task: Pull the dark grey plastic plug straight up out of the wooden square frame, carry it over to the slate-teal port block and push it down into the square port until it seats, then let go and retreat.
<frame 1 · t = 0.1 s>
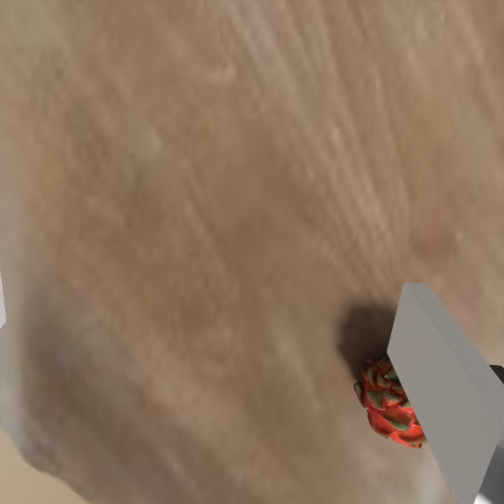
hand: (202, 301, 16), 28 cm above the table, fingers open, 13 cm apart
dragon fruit: (396, 377, 51), on the table
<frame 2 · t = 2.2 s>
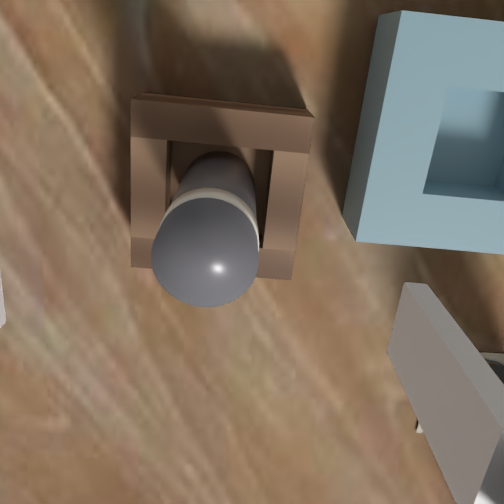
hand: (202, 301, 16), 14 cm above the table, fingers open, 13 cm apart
wooden square frame: (220, 180, 28), on the table
plug: (219, 186, 27), point 1 cm above the table, touching wooden square frame
port: (454, 133, 27), on the table
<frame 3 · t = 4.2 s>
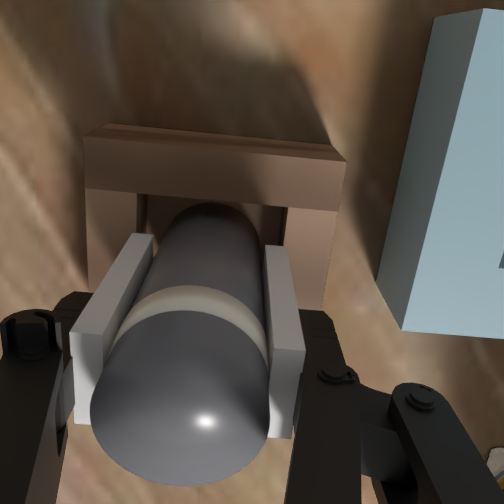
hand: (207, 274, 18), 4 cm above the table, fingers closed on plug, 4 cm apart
wooden square frame: (213, 238, 21), on the table
plug: (212, 248, 20), point 1 cm above the table, touching gripper, wooden square frame
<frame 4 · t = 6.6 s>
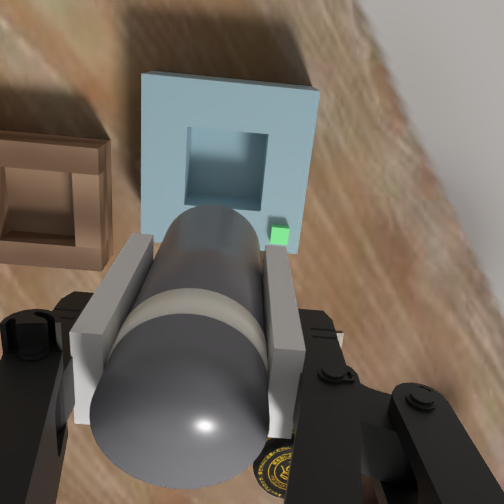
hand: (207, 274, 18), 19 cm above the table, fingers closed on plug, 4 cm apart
condiment: (290, 364, 43), on the table
wooden square frame: (51, 194, 36), on the table
plug: (211, 250, 20), point 17 cm above the table, touching gripper
port: (227, 157, 35), on the table
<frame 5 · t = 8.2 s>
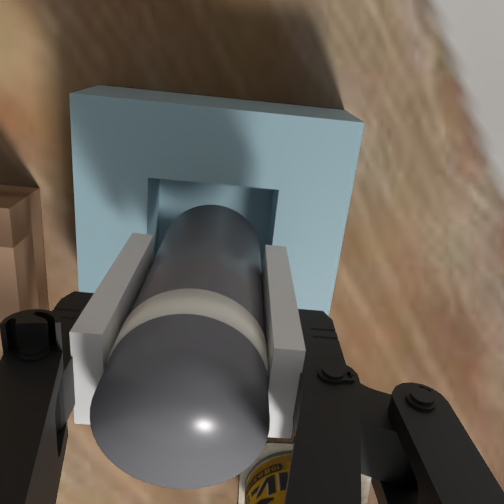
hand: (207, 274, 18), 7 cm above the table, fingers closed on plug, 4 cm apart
condiment: (304, 483, 31), on the table
plug: (211, 250, 20), point 4 cm above the table, touching gripper
port: (215, 213, 24), on the table
when the fingers open (5 cm above the table, at t = 9.2 s): plug drops 1 cm, resting on port.
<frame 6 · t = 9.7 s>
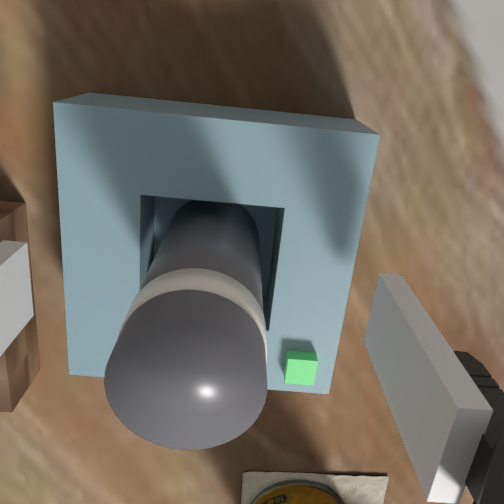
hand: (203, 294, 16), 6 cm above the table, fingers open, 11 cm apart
plug: (213, 239, 21), point 1 cm above the table, touching port
port: (215, 230, 22), on the table
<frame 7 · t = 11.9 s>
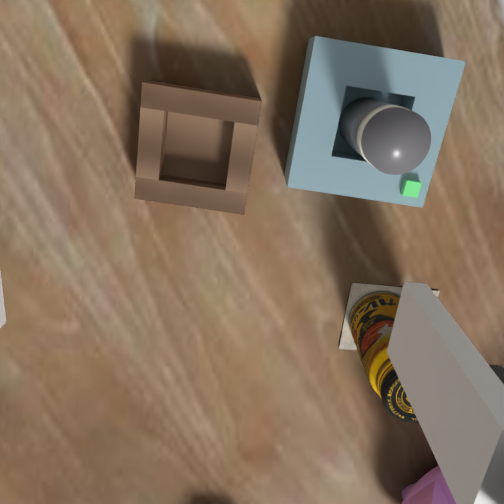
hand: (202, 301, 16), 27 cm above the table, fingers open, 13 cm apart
teapot: (457, 471, 54), on the table
condiment: (386, 318, 47), on the table
wooden square frame: (199, 145, 40), on the table
plug: (363, 123, 39), point 1 cm above the table, touching port
port: (361, 121, 40), on the table
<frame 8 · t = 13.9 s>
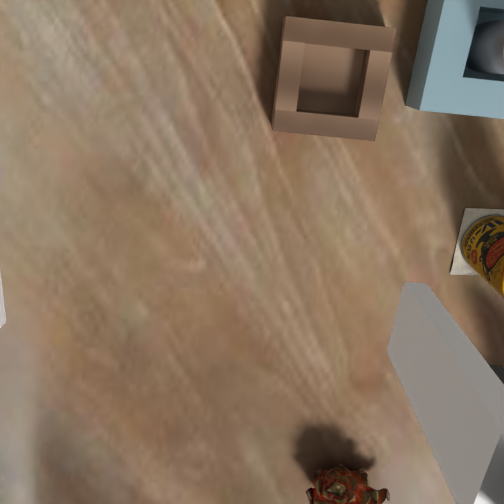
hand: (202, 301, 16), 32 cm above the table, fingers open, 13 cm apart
condiment: (496, 242, 50), on the table
wooden square frame: (326, 79, 43), on the table
plug: (485, 47, 41), point 1 cm above the table, touching port
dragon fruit: (344, 478, 62), on the table
port: (480, 46, 42), on the table
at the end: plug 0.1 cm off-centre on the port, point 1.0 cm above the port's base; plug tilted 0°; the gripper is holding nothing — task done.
